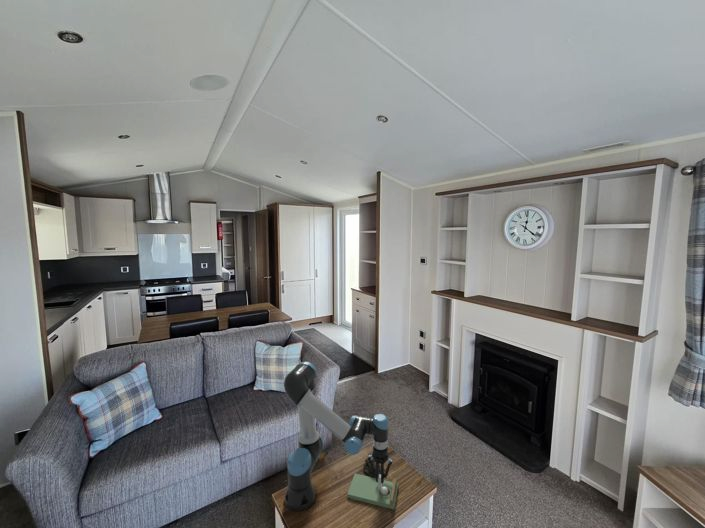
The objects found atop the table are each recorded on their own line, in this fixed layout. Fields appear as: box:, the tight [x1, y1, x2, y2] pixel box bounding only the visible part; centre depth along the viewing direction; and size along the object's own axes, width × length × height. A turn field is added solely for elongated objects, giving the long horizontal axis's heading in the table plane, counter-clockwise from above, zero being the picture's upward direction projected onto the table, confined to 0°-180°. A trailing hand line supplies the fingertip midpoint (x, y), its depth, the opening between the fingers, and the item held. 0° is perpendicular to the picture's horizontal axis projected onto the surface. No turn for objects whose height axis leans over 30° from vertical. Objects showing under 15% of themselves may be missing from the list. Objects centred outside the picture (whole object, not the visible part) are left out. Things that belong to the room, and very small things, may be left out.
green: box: [346, 473, 399, 510], centre depth 163 cm, size 24×14×4 cm, turn 74°
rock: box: [362, 457, 386, 478], centre depth 177 cm, size 13×10×10 cm
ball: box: [380, 487, 389, 496], centre depth 161 cm, size 4×4×4 cm
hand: (379, 487), depth 162 cm, fingers closed
